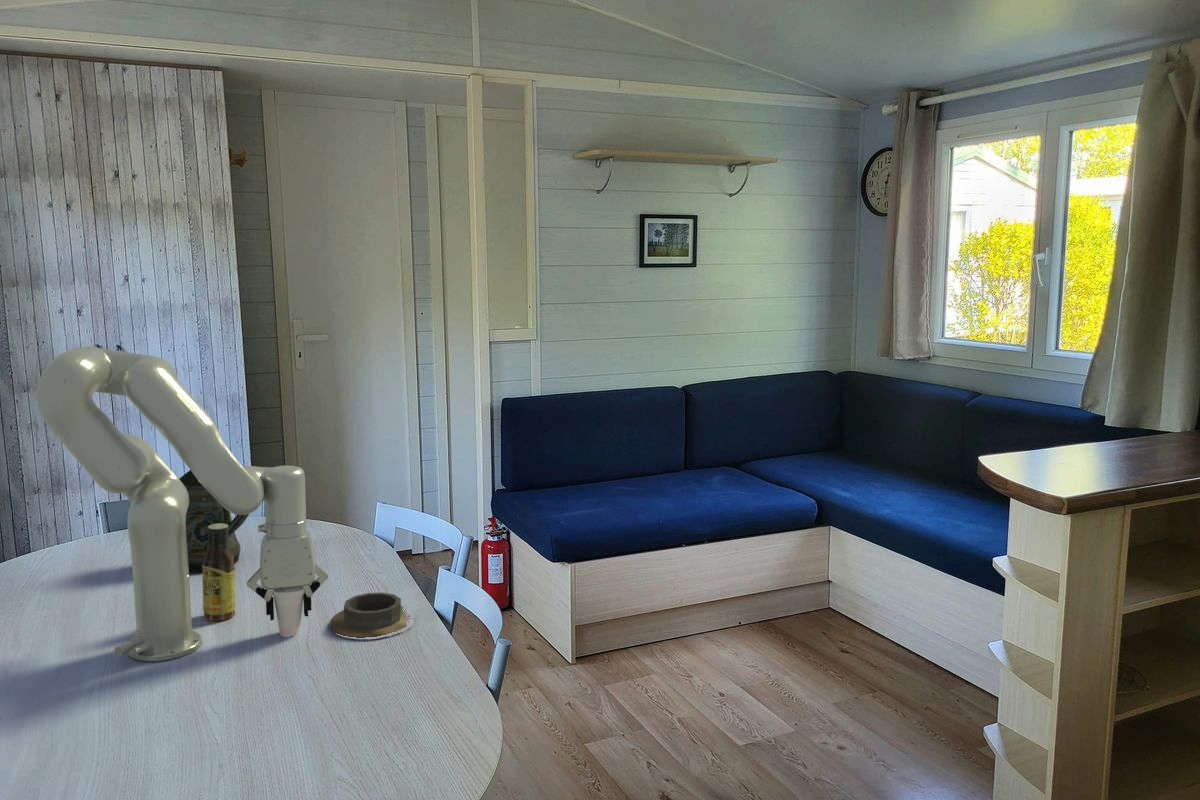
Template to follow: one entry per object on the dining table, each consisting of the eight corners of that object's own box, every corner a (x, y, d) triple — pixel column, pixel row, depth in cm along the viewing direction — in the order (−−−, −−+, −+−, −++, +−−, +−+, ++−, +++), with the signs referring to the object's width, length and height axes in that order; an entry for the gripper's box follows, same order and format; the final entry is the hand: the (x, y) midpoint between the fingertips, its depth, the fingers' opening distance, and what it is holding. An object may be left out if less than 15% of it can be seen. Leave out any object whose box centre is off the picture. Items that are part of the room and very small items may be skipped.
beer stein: (168, 556, 224) (163, 459, 220) (251, 548, 232) (247, 454, 228) (167, 577, 209) (161, 474, 205) (256, 567, 217) (251, 467, 214)
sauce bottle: (197, 619, 185) (192, 526, 182) (222, 609, 191) (217, 519, 188) (218, 625, 182) (214, 531, 179) (243, 615, 188) (239, 524, 185)
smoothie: (299, 640, 176) (298, 572, 174) (267, 639, 176) (265, 571, 174) (310, 627, 182) (309, 561, 180) (279, 626, 182) (278, 560, 180)
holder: (383, 645, 174) (383, 623, 173) (312, 631, 180) (312, 610, 179) (430, 615, 190) (430, 594, 189) (363, 603, 196) (363, 583, 195)
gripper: (239, 538, 169) (242, 628, 172) (333, 530, 175) (335, 617, 178) (239, 527, 176) (243, 614, 179) (330, 520, 182) (332, 604, 185)
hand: (289, 615), depth 178 cm, fingers closed on smoothie, 5 cm apart
